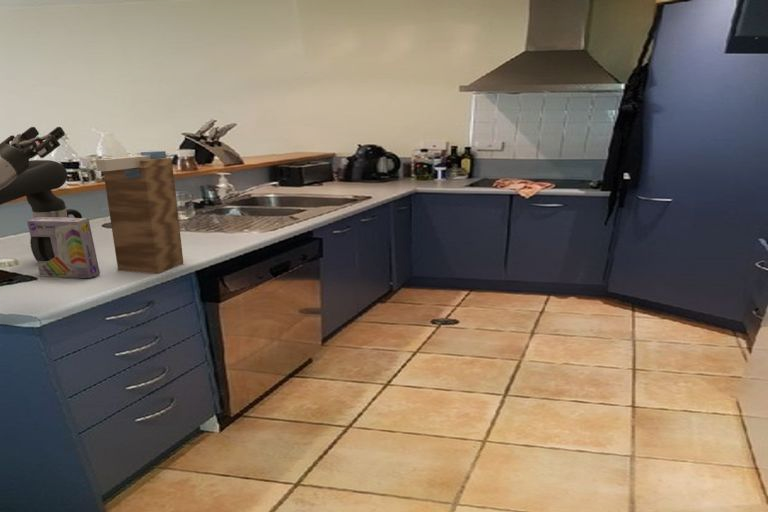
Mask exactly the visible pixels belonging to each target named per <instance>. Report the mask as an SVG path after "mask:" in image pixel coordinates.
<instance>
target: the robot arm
mask: <svg viewBox="0 0 768 512" xmlns="http://www.w3.org/2000/svg"><path fill="white" fill-rule="evenodd" d="M39 134H40V133H39V130H38V129H37V128H36V127H35V126H30V127H29V128H28V129H26V130H25V131H24V132H22V133H18V134H16V135H9V136H8V137H7V138H6V139H5V140H3V141H1V142H0V205H4V204H6V203H9V202H12V201H16V200H18V199H21V198H24V197H25V198H26V200H27V202H28V205H29V206H30V207H31V212H32V217H33V218H32V219H34V218H38V217H54V218H56V217H66V218H67V213H66V209H67V208H66V207H67V206H66V204H65V201H64V199H61V198H59V197H58V196H56V195H55V193H53V191H52V190H56V189H59V188H61V187H62V186H63V185H64V184H65V183H66V181H67V179H68V171H67V169H66V167H65V166H64V165H63V164H61V163H60V162H58V161H54V160H48V159H45V160H43V158H45V157H47V156H48V155H49V154H51V153H52V152H54V151H55V150H56V149H57V148H58V147H60V146H61V143H60V142H59V140H60V139H61V138H63V136H65V135H66V133H65V131H64V129H63V128H62V127H61V126H57V127H55V128H54V129H52V130H51V131H50V132H49V133H48V134H46V135H43V136H41V137H40V136H39ZM37 143H39V144H37ZM37 156H38V157H40V160H39V159H33V158H35V157H37ZM32 159H33V160H32ZM65 206H66V207H65Z"/></svg>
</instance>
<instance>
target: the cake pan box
mask: <svg viewBox="0 0 768 512" xmlns="http://www.w3.org/2000/svg"><path fill="white" fill-rule="evenodd" d="M26 223H27V227H28V231H29V237H30V242H29V243H30V249H31V252H32V256H33V257H34V259H35V260H36V264H37V269H38V272H39V277H40V276H41V277H56V278H57V277H59V278H76V279H77V278H79V279H82V278H83V279H84V278H85V279H86V278H87V279H90V278H93V277H96V276H99V275H101V271H100V267H99V262H98V258H97V252H96V248H95V242H94V239H93V234H92V233H93V232H92V228H91V224H90V220H89V218H88V217H87V218H84V217H82V218H74V217H69V218H66V217H56V218H54V217H38V218H32V219H29V220H28V219H27V221H26Z"/></svg>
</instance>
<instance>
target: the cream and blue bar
mask: <svg viewBox="0 0 768 512" xmlns="http://www.w3.org/2000/svg"><path fill="white" fill-rule="evenodd" d="M166 153H167V152H166V150H161V151H160V150H153V151H142V152H141V151H140V155H134V156H124V157H122V156H121V157H113V158H111V157H110V158H101V159H96V160H95V162H96V169H97V171H98V172H103V171H113V170H121V169H130V168H138V167H140V161H142V160H152V159H162V158H168V155H167V154H166Z"/></svg>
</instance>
